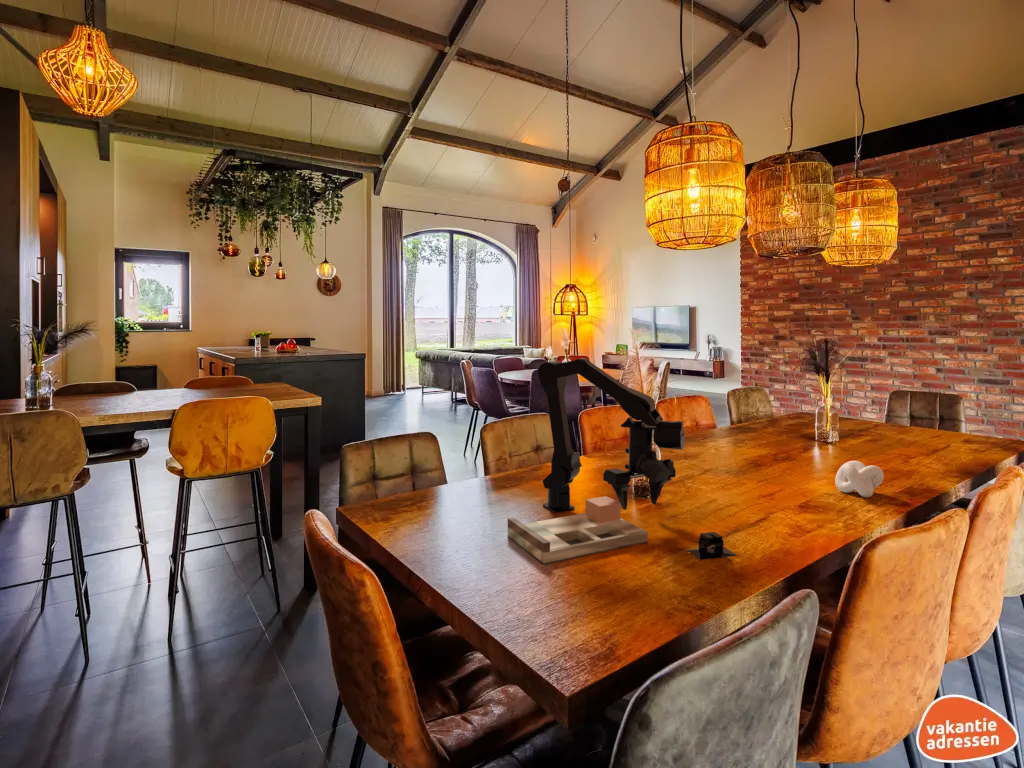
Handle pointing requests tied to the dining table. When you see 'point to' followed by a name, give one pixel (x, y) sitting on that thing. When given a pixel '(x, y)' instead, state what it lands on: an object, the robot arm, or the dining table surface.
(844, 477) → the white knot sculpture
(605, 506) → the terracotta block
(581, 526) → the trap board
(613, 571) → the dining table surface
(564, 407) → the robot arm
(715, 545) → the black boxy piece
